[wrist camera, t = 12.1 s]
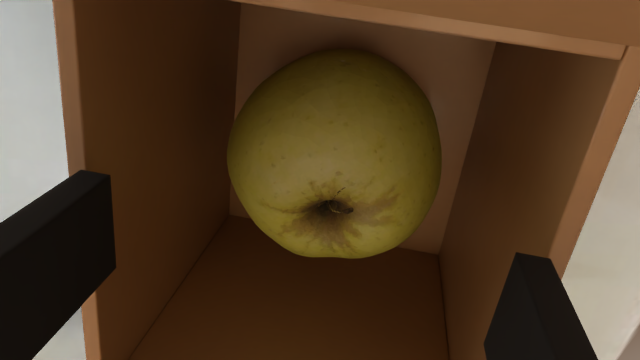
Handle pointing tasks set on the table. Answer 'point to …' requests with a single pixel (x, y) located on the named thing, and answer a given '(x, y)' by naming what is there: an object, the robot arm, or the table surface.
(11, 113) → the table surface
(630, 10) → the flap
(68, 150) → the carton
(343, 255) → the apple
